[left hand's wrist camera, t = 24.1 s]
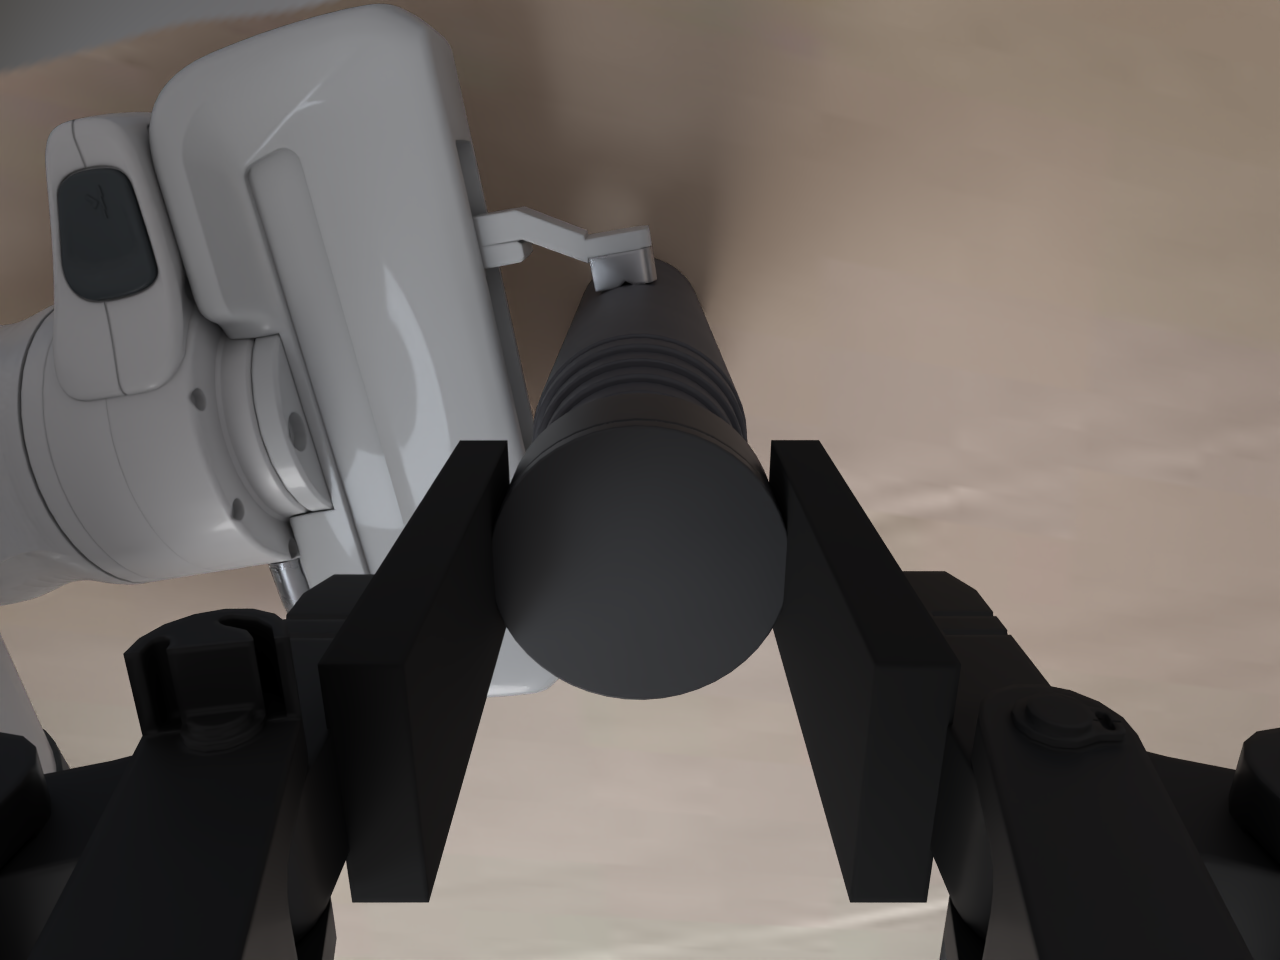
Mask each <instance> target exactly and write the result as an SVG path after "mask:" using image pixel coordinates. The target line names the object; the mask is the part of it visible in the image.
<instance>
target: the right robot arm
mask: <svg viewBox="0 0 1280 960" xmlns="http://www.w3.org/2000/svg"><path fill="white" fill-rule="evenodd" d="M45 163H46V179H47V190H48V200H49V212H50V224H51V238H52V254H53V277H54V305H52V306H49V307H47V308H46V309H44V310H42V311H40V312H38V313H37V314H35V315H33V316H31V317H29V318H27V319H25V320H22V321H20V322H17V323H13V324H7V325H0V606H3V605H9V604H14V603H18V602H23V601H27V600H31V599H34V598H37V597H39V596H42V595H44V594H46V593H49V592H51V591H53V590H55V589H57V588H59V587H61V586H63V585H65V584H68V583H70V582H74V581H80V580H92V581H99V582H105V583H113V584H142V583H148V582H154V581H160V580H167V579H174V578H180V577H187V576H193V575H199V574H206V573H212V572H218V571H226V570H232V569H238V568H245V567H251V566H257V565H263V564H268V565H269V568H270V571H271V573H272V576H273V579H274V582H275V585H276V587H277V590H278V593H279V596H280V599H281V601H282V603H283V606H284V608H285V609H286V612H287V614H288V612H289V611H290V610H291V608H292V607H293V606H294V605H295V603H296V602H297V601H298V599H299V598H300V597H301V596H302V594H303V593H304V592H306V591H308V590H309V589H311V588H313V587H314V586H316V585H317V584H319V583H321V582H322V581H324V580H326V579H327V578H329V577H330V576H332V575H334V574H375V573H376V571H377V570H378V568H379V567H380V565H381V564H382V562H383V560H384V559H385V557H386V556H387V554H388V553H389V551H390V549H391V548H392V546H393V545H394V543H395V542H396V540H397V538H398V537H399V535H400V534H401V532H402V531H403V529H404V527H405V526H406V524H407V523H408V521H409V520H410V518H411V516H412V515H413V513H414V512H415V510H416V509H417V507H418V505H419V504H420V502H421V501H422V499H423V498H424V496H425V494H426V493H427V491H428V490H429V488H430V487H431V485H432V483H433V482H434V480H435V479H436V477H437V476H438V474H439V472H440V471H441V469H442V468H443V466H444V465H445V463H446V461H447V460H448V458H449V457H450V455H451V454H452V452H453V450H454V449H455V447H456V446H457V444H458V443H459V441H460V440H508V457H509V476H510V483H511V480H512V478H513V476H514V473H515V471H516V469H517V466H518V464H519V462H520V460H521V459H522V457H523V456H524V454H525V452H526V451H527V449H528V448H529V446H530V445H531V444H532V438H533V423H534V420H533V415H532V411H531V406H530V402H529V397H528V393H527V388H526V384H525V379H524V374H523V370H522V365H521V361H520V356H519V352H518V347H517V343H516V338H515V334H514V329H513V324H512V320H511V315H510V311H509V306H508V302H507V297H506V293H505V288H504V284H503V279H502V274H501V270H500V266H503V265H509V264H514V263H519V262H522V261H523V260H524V259H526V258H527V257H528V256H529V255H530V254H531V253H532V251H533V247H532V243H533V244H536V245H539V246H542V247H544V248H547V249H550V250H553V251H556V252H558V253H561V254H564V255H567V256H569V257H572V258H575V259H578V260H581V261H583V262H586V263H589V262H590V267H591V271H592V276H593V281H594V286H595V291H596V292H598V291H604V290H610V289H615V288H618V287H620V286H621V285H622V284H623V283H624V282H625V281H626V282H628V283H631V284H633V285H639V284H645V283H649V282H653V281H655V280H657V275H656V268H655V261H654V254H653V247H652V242H651V235H650V229H649V225H643V226H634V227H629V228H623V229H617V230H612V231H606V232H600V233H594V234H588V230H586V229H583V228H581V227H578V226H575V225H573V224H570V223H567V222H565V221H562V220H560V219H557V218H554V217H552V216H549V215H547V214H544V213H541V212H539V211H536V210H534V209H531V208H528V207H526V206H523V207H518V208H512V209H506V210H501V211H495V212H490V213H488V211H487V206H486V202H485V197H484V193H483V188H482V183H481V179H480V174H479V170H478V165H477V161H476V156H475V152H474V147H473V143H472V138H471V133H470V129H469V124H468V120H467V115H466V111H465V106H464V102H463V97H462V93H461V88H460V83H459V79H458V74H457V70H456V65H455V61H454V56H453V52H452V49H451V46H450V44H449V43H448V41H447V40H446V38H445V37H444V36H443V35H441V34H440V33H439V32H438V31H436V30H435V29H434V28H433V27H431V26H430V25H429V24H428V23H426V22H425V21H424V20H422V19H421V18H419V17H418V16H416V15H415V14H413V13H411V12H409V11H407V10H405V9H403V8H401V7H398V6H394V5H390V4H370V5H363V6H358V7H353V8H347V9H343V10H339V11H335V12H331V13H327V14H323V15H319V16H316V17H312V18H309V19H305V20H302V21H298V22H295V23H291V24H288V25H285V26H282V27H279V28H276V29H273V30H270V31H267V32H264V33H261V34H258V35H255V36H252V37H250V38H247V39H245V40H242V41H239V42H237V43H234V44H231V45H229V46H226V47H224V48H222V49H219V50H217V51H214V52H212V53H210V54H208V55H206V56H203V57H201V58H199V59H197V60H195V61H194V62H192V63H191V64H189V65H187V66H186V67H184V68H183V69H182V70H180V71H179V72H178V73H176V74H175V75H174V76H173V77H172V78H171V79H170V80H169V81H168V83H167V84H166V85H165V86H164V88H163V89H162V90H161V92H160V94H159V96H158V98H157V100H156V102H155V104H154V107H153V110H152V112H125V113H110V114H103V115H96V116H90V117H85V118H80V119H75V120H71V121H68V122H65V123H62V124H60V125H58V126H57V127H55V128H54V129H53V130H52V132H51V133H50V135H49V137H48V140H47V145H46V153H45ZM558 679H559V678H557V677H555V676H554V675H553V674H551V673H550V672H548V671H547V670H545V669H544V668H542V667H541V666H540V665H539V664H538V663H536V662H535V661H534V660H533V659H532V658H531V657H530V656H529V655H527V654H526V652H525V651H524V650H523V649H522V648H521V647H520V645H519V644H518V643H517V642H516V641H515V639H514V638H513V636H512V635H511V633H510V632H509V630H508V629H507V627H506V631H505V634H504V638H503V641H502V645H501V648H500V652H499V655H498V659H497V662H496V666H495V670H494V673H493V677H492V680H491V684H490V687H489V691H488V694H487V697H502V696H514V695H525V694H531V693H537V692H541V691H544V690H546V689H548V688H549V687H551V686H552V685H553V684H554V683H555V682H556V681H557V680H558ZM0 732H3V733H9V734H15V735H21V736H24V737H25V738H26V739H27V740H29V741H30V742H31V743H32V744H33V745H35V746H36V748H37V752H38V755H39V759H40V762H41V766H42V769H43V773H44V774H47V773H52V772H57V771H62V770H67V769H70V768H69V766H68V764H67V762H66V761H65V759H64V757H63V756H62V754H61V752H60V750H59V748H58V747H57V745H56V743H55V741H54V740H53V739H52V738H51V736H50V735H49V734H48V733H47V732H46V731H45V730H44V729H43V728H42V726H41V724H40V722H39V719H38V717H37V715H36V713H35V710H34V708H33V706H32V704H31V701H30V699H29V697H28V695H27V692H26V690H25V688H24V685H23V683H22V681H21V679H20V676H19V674H18V672H17V670H16V667H15V665H14V663H13V661H12V658H11V656H10V654H9V652H8V649H7V647H6V645H5V643H4V640H3V638H2V636H1V634H0Z"/></svg>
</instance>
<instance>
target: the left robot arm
mask: <svg viewBox="0 0 1280 960" xmlns="http://www.w3.org/2000/svg"><path fill="white" fill-rule="evenodd" d="M769 484H770V486H771V489H772V491H773V494H774V496H775V499H776V501H777V504H778V506H779V509H780V511H781V514H782V517H783V520H784V523H785V526H786V529H787V552H786V568H785V584H784V599H783V608H782V610H781V612H780V615H779V617H778V619H777V621H776V623H775V624H774V626H773V631H774V634H775V638H776V641H777V645H778V648H779V652H780V655H781V659H782V663H783V666H784V670H785V673H786V677H787V680H788V684H789V687H790V691H791V694H792V698H793V701H794V705H795V709H796V712H797V716H798V719H799V723H800V726H801V730H802V733H803V737H804V740H805V744H806V748H807V751H808V755H809V758H810V762H811V765H812V769H813V772H814V776H815V779H816V783H817V787H818V790H819V794H820V797H821V801H822V804H823V808H824V811H825V815H826V818H827V822H828V826H829V829H830V833H831V836H832V840H833V843H834V847H835V850H836V854H837V857H838V861H839V864H840V868H841V872H842V875H843V879H844V882H845V886H846V889H847V893H848V896H849V900H850V902H927V896H928V889H929V883H930V876H931V869H932V862H933V857H934V859H935V861H936V864H937V866H938V869H939V871H940V873H941V876H942V878H943V880H944V883H945V885H946V888H947V890H948V892H949V895H950V896H949V903H948V909H947V915H946V922H945V928H944V934H943V941H942V947H941V953H940V960H1280V728H1275V729H1269V730H1263V731H1257V732H1256V733H1254V734H1253V735H1252V736H1251V737H1250V738H1248V739H1247V740H1246V741H1245V742H1244V743H1243V747H1242V750H1241V754H1240V757H1239V761H1238V765H1237V768H1236V770H1233V769H1228V768H1223V767H1218V766H1213V765H1207V764H1202V763H1197V762H1192V761H1187V760H1182V759H1176V758H1171V757H1166V756H1163V755H1159V754H1155V753H1151V752H1147V751H1146V750H1145V748H1144V746H1143V744H1142V742H1141V740H1140V738H1139V736H1138V735H1137V733H1136V732H1135V731H1134V730H1133V729H1132V728H1131V726H1130V725H1129V724H1128V723H1127V722H1126V720H1125V719H1124V718H1123V717H1122V716H1120V715H1119V714H1117V713H1116V712H1114V711H1113V710H1111V709H1110V708H1108V707H1106V706H1105V705H1103V704H1102V703H1100V702H1099V701H1096V700H1094V699H1091V698H1089V697H1086V696H1084V695H1081V694H1079V693H1076V692H1074V691H1071V690H1066V689H1062V688H1057V687H1052V686H1050V684H1049V683H1048V682H1047V681H1046V679H1045V678H1044V677H1043V675H1042V674H1041V673H1040V672H1039V670H1038V669H1037V668H1036V666H1035V665H1034V664H1033V663H1032V661H1031V660H1030V659H1029V657H1028V656H1027V655H1026V654H1025V652H1024V651H1023V650H1022V649H1021V647H1020V646H1019V645H1018V643H1017V642H1016V641H1015V640H1014V638H1013V637H1012V636H1011V635H1007V629H1006V628H1005V627H1004V625H1003V624H1002V623H1001V622H1000V620H999V619H998V618H997V616H993V611H992V610H991V609H990V607H989V606H988V605H987V604H986V602H985V601H984V600H983V598H982V597H981V596H980V595H979V593H978V592H977V591H976V590H975V589H973V588H972V587H970V586H968V585H967V584H965V583H964V582H962V581H960V580H959V579H957V578H955V577H954V576H952V575H950V574H949V573H947V572H945V571H902V570H901V568H900V567H899V565H898V564H897V562H896V561H895V559H894V557H893V556H892V554H891V553H890V551H889V550H888V548H887V546H886V545H885V543H884V542H883V540H882V539H881V537H880V535H879V534H878V532H877V531H876V529H875V528H874V526H873V524H872V523H871V521H870V520H869V518H868V517H867V515H866V513H865V512H864V510H863V509H862V507H861V506H860V504H859V502H858V501H857V499H856V498H855V496H854V495H853V493H852V491H851V490H850V488H849V487H848V485H847V484H846V482H845V480H844V479H843V477H842V476H841V474H840V473H839V471H838V469H837V468H836V466H835V465H834V463H833V462H832V460H831V458H830V457H829V455H828V454H827V452H826V450H825V449H824V447H823V446H822V444H821V443H820V441H819V440H771V457H770V475H769ZM509 485H510V476H509V457H508V440H460V441H459V443H458V444H457V446H456V447H455V449H454V450H453V452H452V454H451V455H450V457H449V458H448V460H447V461H446V463H445V465H444V466H443V468H442V469H441V471H440V472H439V474H438V476H437V477H436V479H435V480H434V482H433V483H432V485H431V487H430V488H429V490H428V491H427V493H426V494H425V496H424V498H423V499H422V501H421V502H420V504H419V505H418V507H417V509H416V510H415V512H414V513H413V515H412V516H411V518H410V520H409V521H408V523H407V524H406V526H405V527H404V529H403V531H402V532H401V534H400V535H399V537H398V538H397V540H396V542H395V543H394V545H393V546H392V548H391V549H390V551H389V553H388V554H387V556H386V557H385V559H384V560H383V562H382V564H381V565H380V567H379V568H378V570H377V571H376V573H375V574H334V575H332V576H330V577H329V578H327V579H326V580H324V581H322V582H321V583H319V584H317V585H316V586H314V587H313V588H311V589H309V590H308V591H306V592H304V593H303V594H302V596H301V597H300V598H299V599H298V601H297V602H296V603H295V605H294V606H293V607H292V608H291V610H290V611H289V612H288V614H287V615H286V619H283V620H282V619H281V618H280V617H278V616H277V615H276V614H274V613H270V612H265V611H261V610H256V609H222V610H216V611H210V612H205V613H199V614H194V615H191V616H188V617H185V618H182V619H179V620H176V621H173V622H170V623H167V624H164V625H162V626H161V627H159V628H157V629H155V630H153V631H151V632H150V633H148V634H146V635H144V636H142V637H141V638H139V639H138V640H137V641H136V642H135V643H134V644H133V645H132V646H131V647H130V648H129V649H128V650H127V651H126V652H125V653H124V659H125V663H126V667H127V671H128V676H129V680H130V684H131V688H132V693H133V697H134V701H135V706H136V710H137V714H138V718H139V723H140V727H141V731H142V735H143V736H142V738H141V740H140V742H139V744H138V746H137V748H136V750H135V752H134V754H133V755H132V756H129V757H125V758H121V759H117V760H113V761H108V762H103V763H98V764H93V765H88V766H83V767H78V768H73V769H67V770H62V771H57V772H52V773H47V774H44V773H43V769H42V766H41V762H40V759H39V755H38V752H37V748H36V746H35V745H33V744H32V743H31V742H30V741H29V740H27V739H26V738H25V737H24V736H21V735H15V734H9V733H3V732H0V960H334V953H335V946H336V930H335V922H334V915H333V909H332V903H331V894H332V892H333V890H334V887H335V885H336V882H337V880H338V878H339V875H340V873H341V870H342V868H343V866H344V863H345V861H346V863H347V870H348V876H349V883H350V890H351V897H352V902H429V900H430V896H431V893H432V889H433V885H434V882H435V878H436V875H437V871H438V868H439V864H440V861H441V857H442V854H443V850H444V847H445V843H446V839H447V836H448V832H449V829H450V825H451V822H452V818H453V815H454V811H455V808H456V804H457V801H458V797H459V793H460V790H461V786H462V783H463V779H464V776H465V772H466V769H467V765H468V762H469V758H470V754H471V751H472V747H473V744H474V740H475V737H476V733H477V730H478V726H479V723H480V719H481V716H482V712H483V708H484V705H485V701H486V698H487V694H488V691H489V687H490V684H491V680H492V677H493V673H494V670H495V666H496V662H497V659H498V655H499V652H500V648H501V645H502V641H503V638H504V634H505V631H506V626H505V624H504V622H503V620H502V618H501V616H500V614H499V612H498V609H497V607H496V599H495V584H494V569H493V553H492V531H493V527H494V524H495V520H496V518H497V515H498V513H499V510H500V508H501V505H502V503H503V500H504V498H505V495H506V493H507V490H508V488H509Z"/></svg>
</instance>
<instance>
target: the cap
mask: <svg viewBox="0 0 1280 960" xmlns="http://www.w3.org/2000/svg"><path fill="white" fill-rule="evenodd" d="M786 552H787V529H786V526H785V523H784V520H783V517H782V514H781V511H780V509H779V506H778V504H777V501H776V499H775V496H774V494H773V491H772V489H771V486H770V484H769V481H768V479H767V476H766V474H765V471H764V469H763V467H762V465H761V463H760V462H759V460H758V458H757V456H756V454H755V453H754V452H753V450H752V449H751V447H750V446H749V444H748V443H747V442H746V441H745V440H744V439H743V438H742V436H741V435H740V434H739V433H738V432H737V431H736V430H735V429H734V428H732V427H731V426H730V425H729V424H728V423H726V422H725V421H724V420H723V419H721V418H720V417H718V416H717V415H715V414H713V413H712V412H710V411H708V410H707V409H705V408H703V407H700V406H698V405H696V404H694V403H691V402H689V401H685V400H682V399H679V398H675V397H672V396H666V395H660V394H652V393H629V394H619V395H613V396H609V397H604V398H600V399H597V400H594V401H591V402H589V403H586V404H583V405H581V406H579V407H577V408H575V409H573V410H571V411H569V412H567V413H566V414H564V415H563V416H561V417H560V418H559V419H557V420H556V421H554V422H553V423H551V424H550V425H549V426H548V427H547V428H546V429H545V430H544V431H543V432H542V433H541V434H540V435H539V436H538V437H537V438H536V439H535V440H534V442H533V443H532V444H531V445H530V446H529V448H528V449H527V451H526V452H525V454H524V456H523V457H522V459H521V460H520V462H519V464H518V466H517V469H516V471H515V473H514V476H513V478H512V480H511V483H510V485H509V488H508V490H507V493H506V495H505V498H504V500H503V503H502V505H501V508H500V510H499V513H498V515H497V518H496V520H495V524H494V527H493V531H492V553H493V569H494V584H495V599H496V607H497V609H498V612H499V614H500V616H501V618H502V620H503V622H504V624H505V626H506V627H507V629H508V630H509V632H510V633H511V635H512V636H513V638H514V639H515V641H516V642H517V643H518V644H519V645H520V647H521V648H522V649H523V650H524V651H525V652H526V654H527V655H529V656H530V657H531V658H532V659H533V660H534V661H535V662H536V663H538V664H539V665H540V666H541V667H542V668H544V669H545V670H547V671H548V672H550V673H551V674H553V675H554V676H555V677H557V678H559V679H561V680H563V681H565V682H567V683H569V684H571V685H573V686H575V687H578V688H580V689H583V690H586V691H588V692H592V693H595V694H599V695H603V696H607V697H614V698H621V699H637V700H647V699H659V698H666V697H671V696H676V695H681V694H684V693H688V692H691V691H694V690H697V689H700V688H702V687H704V686H706V685H709V684H711V683H713V682H715V681H717V680H719V679H720V678H722V677H724V676H725V675H727V674H729V673H730V672H732V671H733V670H734V669H736V668H737V667H738V666H739V665H741V664H742V663H743V662H745V661H746V660H747V659H748V658H749V657H750V656H751V655H752V654H753V653H754V652H755V651H756V650H757V649H758V648H759V646H760V645H761V644H762V642H763V641H764V640H765V638H766V637H767V636H768V635H769V633H770V631H771V630H772V628H773V626H774V624H775V623H776V621H777V619H778V617H779V615H780V612H781V610H782V608H783V599H784V584H785V568H786Z"/></svg>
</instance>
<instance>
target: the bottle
mask: <svg viewBox="0 0 1280 960" xmlns="http://www.w3.org/2000/svg"><path fill="white" fill-rule="evenodd" d="M654 261H655V268H656V275H657V280H655V281H653V282H649V283H645V284H639V285H633V284H631V283H628V282H626V281H625V282H624V283H623V284H622V285H621V286H620V287H618V288H615V289H610V290H604V291H598V292H596V291H595V286H594V281H593V279H592V281H591V282H590V283H589V285H588V286H587V288H586V290H585V292H584V294H583V297H582V299H581V301H580V304H579V306H578V309H577V311H576V313H575V316H574V318H573V321H572V323H571V325H570V328H569V330H568V333H567V335H566V337H565V340H564V342H563V345H562V347H561V349H560V352H559V354H558V356H557V359H556V361H555V364H554V366H553V368H552V371H551V373H550V376H549V378H548V380H547V383H546V385H545V388H544V390H543V392H542V395H541V397H540V400H539V403H538V405H537V408H536V413H535V417H534V423H533V438H532V443H533V442H534V440H535V439H536V438H537V437H538V436H539V435H540V434H541V433H542V432H543V431H544V430H545V429H546V428H547V427H548V426H549V425H550V424H551V423H553V422H554V421H556V420H557V419H559V418H560V417H561V416H563V415H564V414H566V413H567V412H569V411H571V410H573V409H575V408H577V407H579V406H581V405H583V404H586V403H589V402H591V401H594V400H597V399H600V398H604V397H609V396H613V395H619V394H629V393H652V394H660V395H666V396H672V397H675V398H679V399H682V400H685V401H689V402H691V403H694V404H696V405H698V406H700V407H703V408H705V409H707V410H708V411H710V412H712V413H713V414H715V415H717V416H718V417H720V418H721V419H723V420H724V421H725V422H726V423H728V424H729V425H730V426H731V427H732V428H734V429H735V430H736V431H737V432H738V433H739V434H740V435H741V436H742V438H743V439H744V440H745V441H746V442H747V429H746V419H745V415H744V411H743V407H742V404H741V401H740V399H739V396H738V394H737V391H736V389H735V387H734V384H733V382H732V379H731V377H730V375H729V372H728V370H727V367H726V365H725V363H724V360H723V358H722V355H721V353H720V351H719V348H718V346H717V344H716V341H715V339H714V336H713V334H712V332H711V329H710V327H709V324H708V322H707V320H706V317H705V315H704V312H703V310H702V308H701V305H700V303H699V300H698V298H697V296H696V293H695V291H694V289H693V287H692V286H691V284H690V283H689V281H688V280H687V279H686V277H685V276H684V275H683V274H682V273H681V272H679V271H678V270H677V269H676V268H674V267H673V266H671V265H669V264H668V263H666V262H663V261H661V260H658V259H654ZM747 443H748V442H747Z"/></svg>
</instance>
